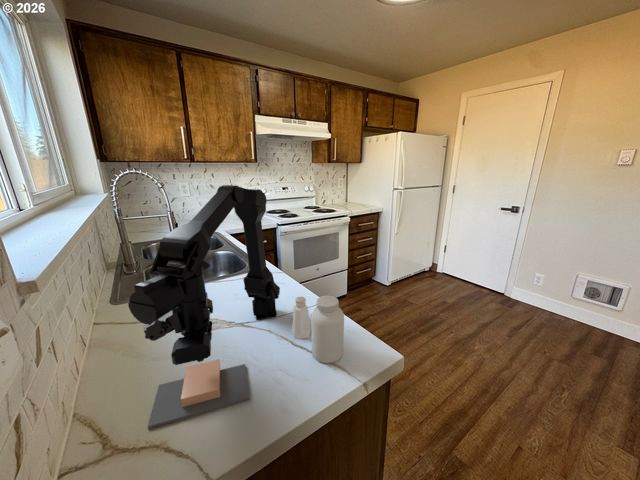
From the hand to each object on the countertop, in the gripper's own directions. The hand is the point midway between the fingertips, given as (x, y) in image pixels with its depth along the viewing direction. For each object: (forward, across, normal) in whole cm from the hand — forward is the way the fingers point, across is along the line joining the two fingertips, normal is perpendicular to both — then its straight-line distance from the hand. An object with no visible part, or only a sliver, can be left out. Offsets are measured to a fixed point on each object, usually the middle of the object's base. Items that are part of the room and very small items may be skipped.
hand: (200, 360), depth 58 cm
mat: (+6, +4, 0) cm, 7 cm away
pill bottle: (+6, +1, +29) cm, 30 cm away
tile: (+4, -3, 0) cm, 5 cm away
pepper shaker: (+6, -9, +25) cm, 27 cm away
